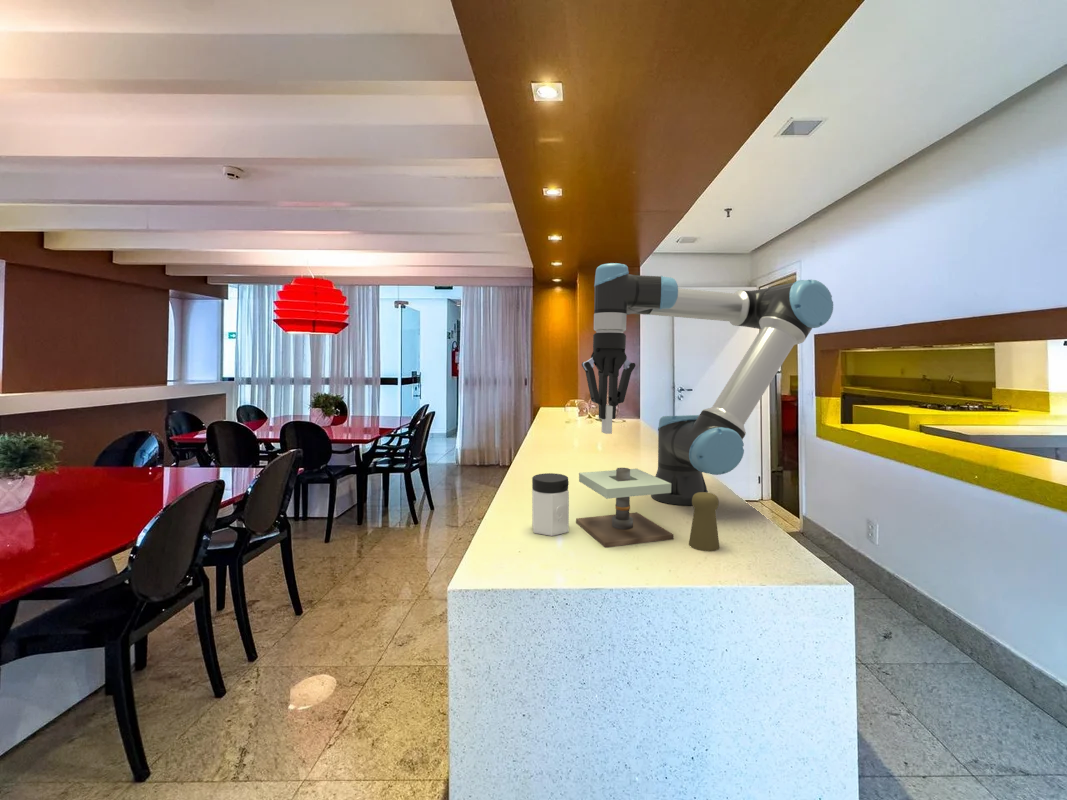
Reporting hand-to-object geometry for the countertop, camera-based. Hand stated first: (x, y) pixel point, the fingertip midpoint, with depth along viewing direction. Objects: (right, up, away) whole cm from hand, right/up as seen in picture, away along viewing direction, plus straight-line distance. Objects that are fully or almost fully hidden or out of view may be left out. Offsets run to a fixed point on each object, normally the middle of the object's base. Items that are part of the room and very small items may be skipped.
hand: (606, 432), depth 117 cm
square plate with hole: (+3, -12, -7) cm, 14 cm away
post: (+3, -22, -6) cm, 23 cm away
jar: (-13, -22, -5) cm, 26 cm away
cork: (+18, -23, -15) cm, 32 cm away
